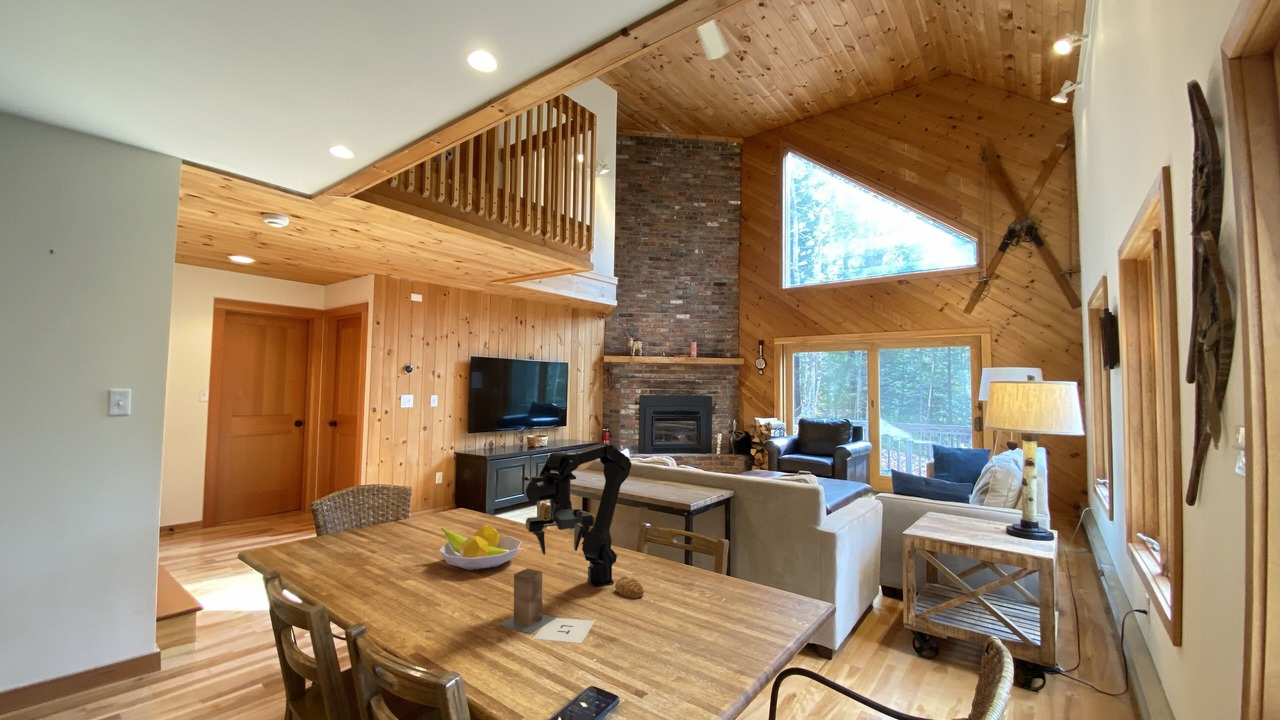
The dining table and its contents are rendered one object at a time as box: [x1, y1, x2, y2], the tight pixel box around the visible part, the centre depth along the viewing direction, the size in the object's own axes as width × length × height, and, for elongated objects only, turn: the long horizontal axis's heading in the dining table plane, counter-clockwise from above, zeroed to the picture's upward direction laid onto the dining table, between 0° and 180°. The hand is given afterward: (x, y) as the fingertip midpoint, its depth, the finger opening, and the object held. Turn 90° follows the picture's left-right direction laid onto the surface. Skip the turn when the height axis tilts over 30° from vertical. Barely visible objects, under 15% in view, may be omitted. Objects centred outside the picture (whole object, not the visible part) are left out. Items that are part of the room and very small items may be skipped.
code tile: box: [532, 617, 596, 644], centre depth 134 cm, size 12×12×1 cm
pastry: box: [614, 576, 645, 599], centre depth 158 cm, size 9×7×4 cm
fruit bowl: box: [439, 524, 522, 571], centre depth 186 cm, size 28×27×11 cm
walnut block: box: [513, 568, 543, 627], centre depth 138 cm, size 5×5×12 cm
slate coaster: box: [498, 613, 557, 635], centre depth 138 cm, size 10×10×1 cm
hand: (559, 552), depth 154 cm, fingers open, 9 cm apart
